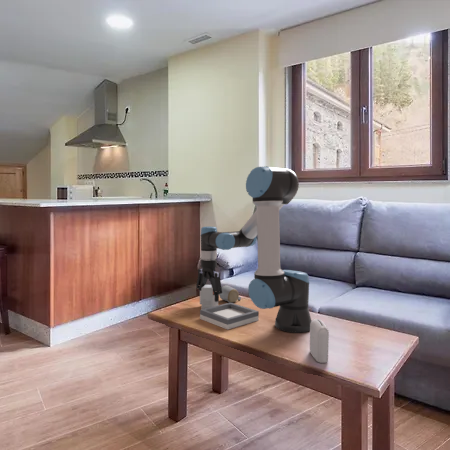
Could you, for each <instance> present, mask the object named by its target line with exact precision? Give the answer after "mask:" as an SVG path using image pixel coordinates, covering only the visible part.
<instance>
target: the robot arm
mask: <svg viewBox="0 0 450 450" xmlns="http://www.w3.org/2000/svg"><path fill="white" fill-rule="evenodd" d="M299 185H300V183H299V178H298V176H297V174H296V173H295V171H293V170H292V169H290V168H286V167H276V166H266V165H265V166H257V167H255V168H253V169H252V170H251V171H250V173H249V174H248V175H247V177H246V181H245V189H246V193H247V195H248V196H249V197H251V198H252V204H254V206H255V207H256V210H255V211H254V213H253V214H252V215H251V216H250V217H249V219H248V220H247V221H246V222H245V223H244V224H243V226H242V227H241V228H240V229H239V231H218V229H217V226H202V227H201V228H200V259H201V260H200V267H201V268H198V269H197V278H196V279H197V280H196V289H198V291H199V293H198V295H199V296H198V297H199V305H201V288H202V287H203V286H204V285H207V281H209V283H210V285H212V288H213V292H214V294H213V307H214V306H218V305H219V301H220V296H219V294H222V288H221V287H222V282H221V272H220V271H216V268H217V267H218V263H217V262H218V260H217V258H218V257H217V253H218V252H217V250H218V249H219V250H223V251H226V250H227V251H228V250H231V249H234V248H248V247H252V246H254V245H255V244H256V241H257V269H256V270H255V272H254V273H253V274H254V276H253V277H254V278H253V279H252V280H251V281H250V282H249V284H248V295H249V298H250V300H251V301H252V303H253V305H254V306H256V307H257V308H259V309H261V310H265V309H273V308H278V307H279V308H278V311H277V313H276V317H275V320H274V326H275V327H276V329H277V330H280V331H283V332H287V333H293V334H294V333H295V334H298V333H300V334H301V333H306V332H310V323H311V321H312V320H313V319H312V318H311V314H310V310H309V301H310V300H309V295H310V276H309V275H308V273H307V272H303V271H300V270H299V271H298V270H291V269H282V267H281V242H280V241H281V240H280V239H281V238H280V237H281V235H280V234H281V233H280V229H281V228H280V210H281V209H282V208H283V206H285V205H288V204H290V203H291V201H292V200H293V199H294V198H295V196H296V195H297V193H298V190H299Z"/></svg>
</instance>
